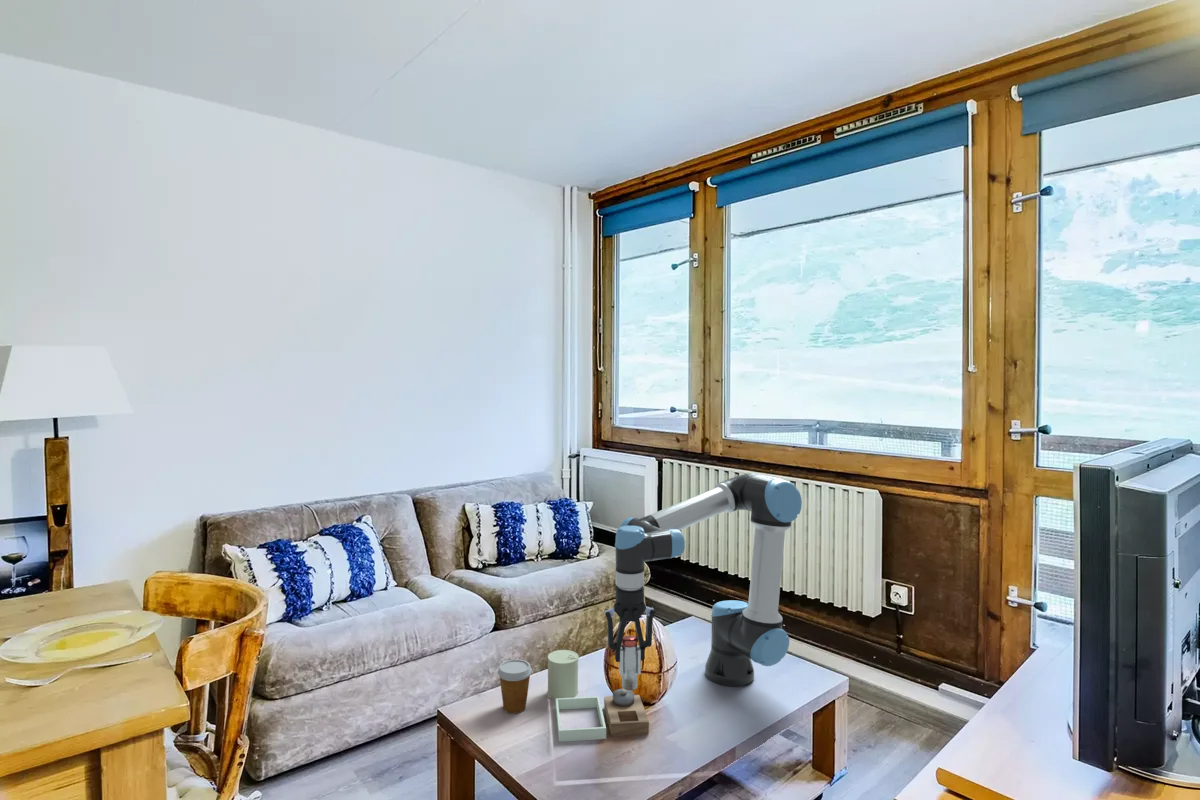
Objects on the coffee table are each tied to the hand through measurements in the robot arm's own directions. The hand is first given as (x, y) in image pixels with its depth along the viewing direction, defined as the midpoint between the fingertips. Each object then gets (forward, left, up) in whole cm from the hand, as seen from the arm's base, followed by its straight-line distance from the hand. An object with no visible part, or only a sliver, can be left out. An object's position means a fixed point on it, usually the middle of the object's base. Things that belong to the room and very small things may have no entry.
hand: (629, 672), depth 171 cm
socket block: (0, -4, -16) cm, 16 cm away
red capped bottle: (0, 0, -4) cm, 4 cm away
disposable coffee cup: (+30, -15, -16) cm, 37 cm away
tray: (+13, -4, -16) cm, 21 cm away
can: (+16, -21, -16) cm, 31 cm away
